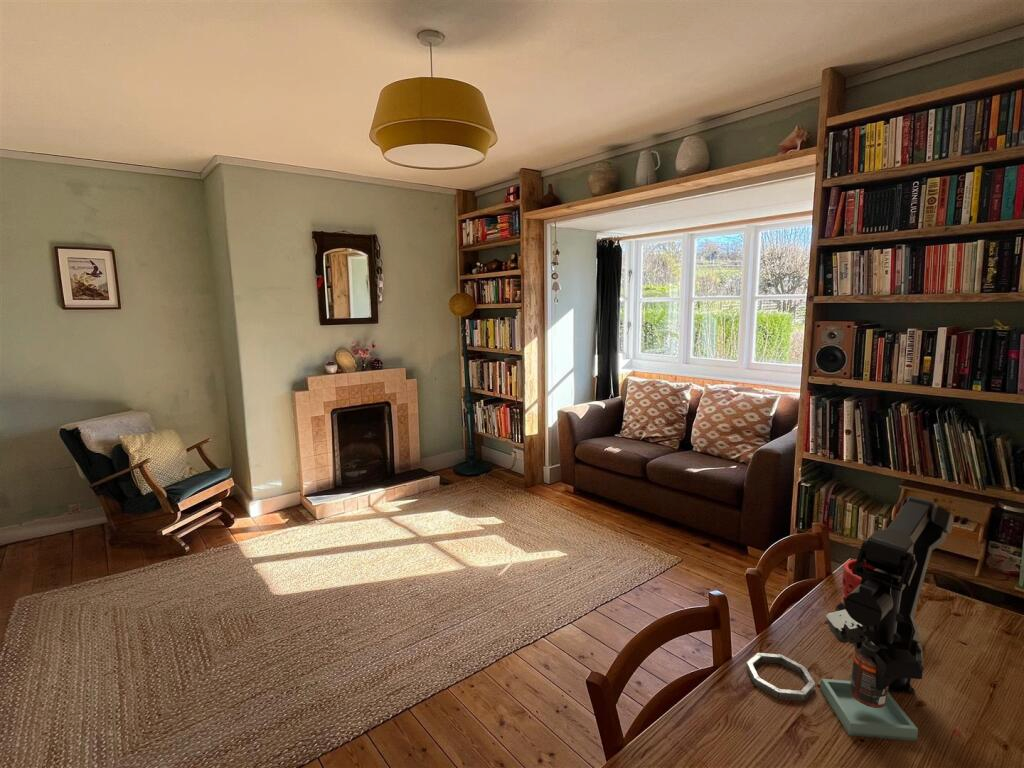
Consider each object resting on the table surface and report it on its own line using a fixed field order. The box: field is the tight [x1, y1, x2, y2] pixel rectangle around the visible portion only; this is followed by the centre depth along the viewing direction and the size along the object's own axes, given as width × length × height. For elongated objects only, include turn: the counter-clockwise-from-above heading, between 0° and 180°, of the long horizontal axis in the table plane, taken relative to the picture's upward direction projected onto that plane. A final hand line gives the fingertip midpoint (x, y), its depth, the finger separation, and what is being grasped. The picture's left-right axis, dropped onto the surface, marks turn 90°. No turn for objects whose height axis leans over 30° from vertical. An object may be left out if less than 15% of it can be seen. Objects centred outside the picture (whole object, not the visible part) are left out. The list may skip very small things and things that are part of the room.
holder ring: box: [746, 652, 816, 702], centre depth 112 cm, size 12×12×2 cm
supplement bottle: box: [850, 640, 889, 708], centre depth 101 cm, size 6×6×11 cm
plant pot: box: [840, 558, 877, 603], centre depth 134 cm, size 13×13×12 cm
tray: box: [819, 678, 919, 742], centre depth 103 cm, size 12×12×2 cm
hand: (870, 677), depth 102 cm, fingers closed on supplement bottle, 6 cm apart
